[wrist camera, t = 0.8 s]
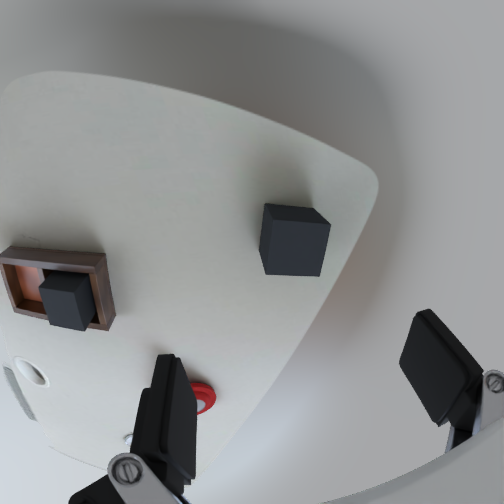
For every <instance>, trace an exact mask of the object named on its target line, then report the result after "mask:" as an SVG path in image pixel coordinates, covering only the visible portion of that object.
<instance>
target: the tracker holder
mask: <svg viewBox="0 0 504 504" xmlns="http://www.w3.org/2000/svg"><path fill="white" fill-rule="evenodd" d="M190 384H191V387H192V389H193V391H194V394H195V396H196V399H197V405H198V407H197V415H199V414H201V413H203V412H205V411H207V410H208V409H210V408H211V407H212V406H213V405H214V403H215V401H216V394H215V392H214V390H213V389H212V388H211V387H210V386H208V385H206V384H202V383H190Z"/></svg>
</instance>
